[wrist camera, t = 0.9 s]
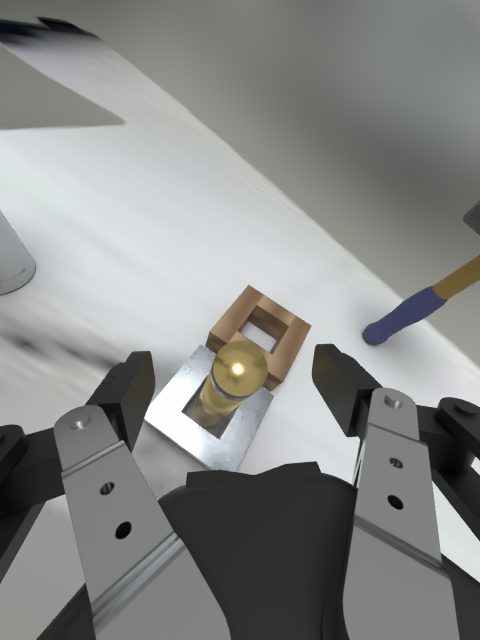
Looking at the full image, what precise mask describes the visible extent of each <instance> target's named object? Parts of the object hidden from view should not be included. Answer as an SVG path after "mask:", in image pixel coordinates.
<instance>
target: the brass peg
mask: <svg viewBox="0 0 480 640" xmlns="http://www.w3.org/2000/svg"><path fill="white" fill-rule="evenodd" d="M267 374H268V364H267V361H266V358H265V356H264V355H263V353H262V352H261V351H260V349H258V348H257V347H256V346H255V345H253V344H251V343H249V342H246V341H233V342H229V343H227V344H226V345H224V346H223V347H222V348H221V349H220V350H219V352H218V354H217V355H216V357H215V359H214V361H213V363H212V366H211V370H210V372H209V374H208V377H207V379H206V382H205V384H204V386H203V389H202V391H201V393H200V396H199V398H198V400H197V403H196V405H195V408H194V417H195V419H196V421H197V422H198V423H199V424H200V425H201V426H203V427H213V426H215V425H217V424H218V423H219V422H220V421H222V420H223V419H224V418H225V417H226V416H227V415H229V414H230V413H231V412H232V411H233V410H234V409H235V408H237V407H238V406H239V405H240V404H241V403H242V402H244V401H245V400H246V399H247V398H249V397H250V396H252V395H253V394H254V393H255V392H256V391H257V390H258V389H259V388H260V387H261V386H262V385H263V384H264V382H265V380H266V378H267Z"/></svg>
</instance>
